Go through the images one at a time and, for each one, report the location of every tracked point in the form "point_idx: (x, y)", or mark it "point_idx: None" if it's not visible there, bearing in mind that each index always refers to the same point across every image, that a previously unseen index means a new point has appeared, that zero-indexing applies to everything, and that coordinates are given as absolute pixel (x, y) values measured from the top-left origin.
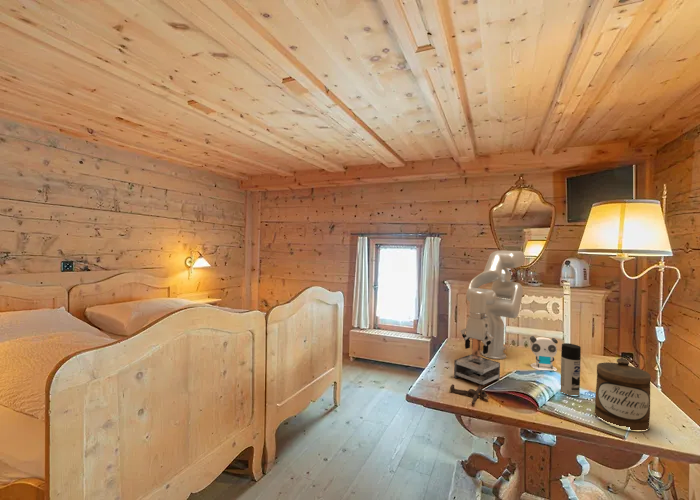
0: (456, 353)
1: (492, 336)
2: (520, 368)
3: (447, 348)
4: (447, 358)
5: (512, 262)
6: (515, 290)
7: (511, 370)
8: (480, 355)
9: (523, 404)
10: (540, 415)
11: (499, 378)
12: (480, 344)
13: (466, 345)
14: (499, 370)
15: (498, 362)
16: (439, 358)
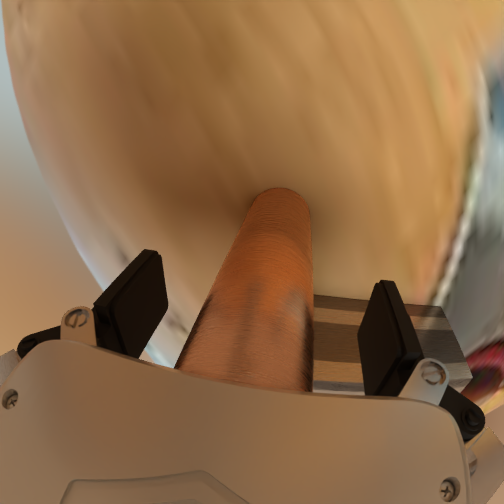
0: (64, 78)
1: (498, 487)
2: (484, 27)
3: (16, 67)
4: (87, 202)
5: None
6: None
7: (471, 96)
8: (309, 253)
9: (480, 390)
10: (496, 398)
11: (444, 314)
12: (313, 364)
13: (152, 329)
14: (457, 346)
15: (465, 379)
16: (75, 236)
